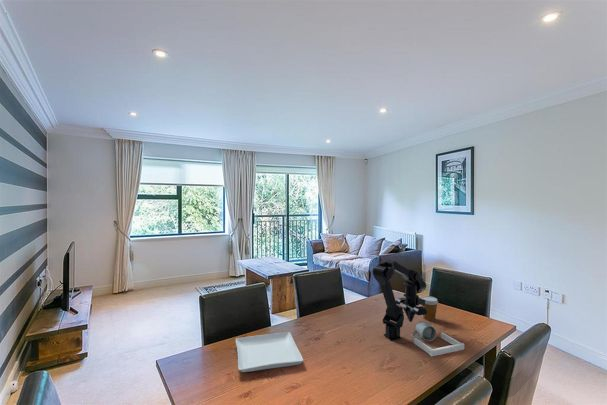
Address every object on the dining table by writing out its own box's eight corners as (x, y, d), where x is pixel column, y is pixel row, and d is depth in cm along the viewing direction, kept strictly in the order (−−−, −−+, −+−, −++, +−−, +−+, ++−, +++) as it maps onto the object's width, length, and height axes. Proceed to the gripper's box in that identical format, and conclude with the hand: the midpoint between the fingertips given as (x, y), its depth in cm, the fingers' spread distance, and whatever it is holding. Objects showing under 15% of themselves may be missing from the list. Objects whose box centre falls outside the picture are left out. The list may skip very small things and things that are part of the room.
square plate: (238, 379, 117) (238, 369, 117) (235, 345, 143) (235, 337, 143) (304, 368, 124) (304, 359, 124) (289, 338, 150) (289, 330, 150)
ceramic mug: (427, 333, 155) (427, 318, 154) (436, 340, 146) (436, 325, 146) (408, 335, 153) (408, 320, 153) (416, 342, 145) (416, 327, 145)
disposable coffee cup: (435, 323, 166) (435, 302, 166) (418, 319, 172) (418, 299, 172) (439, 318, 174) (439, 298, 173) (422, 314, 179) (423, 294, 179)
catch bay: (431, 356, 132) (431, 351, 132) (412, 343, 144) (412, 338, 144) (464, 349, 138) (464, 344, 138) (443, 337, 150) (443, 332, 150)
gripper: (435, 296, 153) (435, 326, 154) (411, 286, 171) (411, 313, 171) (418, 299, 149) (418, 329, 150) (395, 288, 167) (395, 315, 167)
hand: (410, 321), depth 160 cm, fingers closed
